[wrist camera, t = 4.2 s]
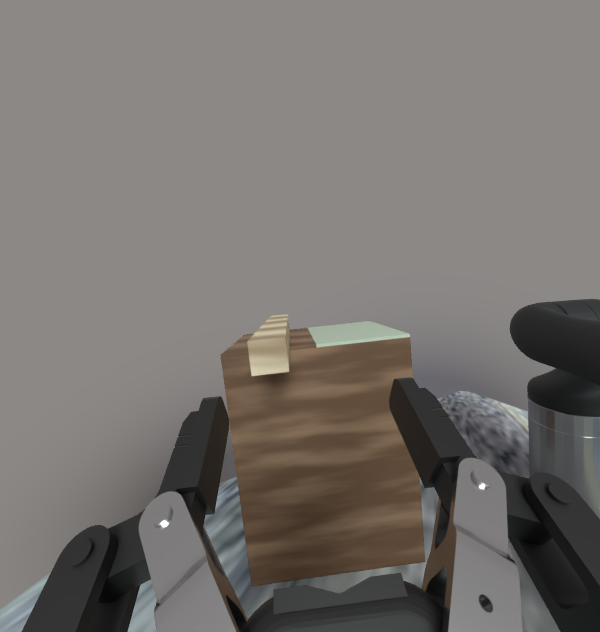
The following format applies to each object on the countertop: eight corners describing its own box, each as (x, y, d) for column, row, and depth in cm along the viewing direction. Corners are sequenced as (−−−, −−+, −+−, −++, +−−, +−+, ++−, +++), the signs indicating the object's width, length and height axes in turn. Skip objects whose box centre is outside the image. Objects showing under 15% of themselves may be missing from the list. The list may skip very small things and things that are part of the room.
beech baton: (289, 371, 21) (285, 337, 21) (251, 376, 21) (247, 341, 21) (289, 329, 47) (287, 314, 47) (272, 331, 47) (271, 316, 46)
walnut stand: (425, 561, 34) (409, 333, 31) (251, 586, 33) (220, 355, 31) (382, 476, 50) (369, 321, 47) (264, 492, 49) (244, 334, 47)
